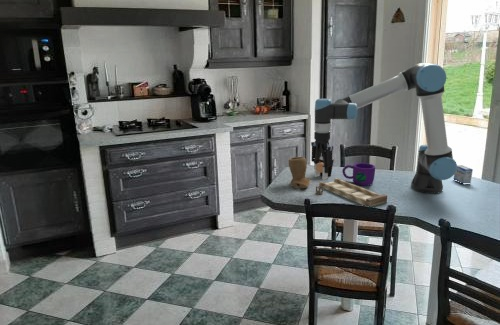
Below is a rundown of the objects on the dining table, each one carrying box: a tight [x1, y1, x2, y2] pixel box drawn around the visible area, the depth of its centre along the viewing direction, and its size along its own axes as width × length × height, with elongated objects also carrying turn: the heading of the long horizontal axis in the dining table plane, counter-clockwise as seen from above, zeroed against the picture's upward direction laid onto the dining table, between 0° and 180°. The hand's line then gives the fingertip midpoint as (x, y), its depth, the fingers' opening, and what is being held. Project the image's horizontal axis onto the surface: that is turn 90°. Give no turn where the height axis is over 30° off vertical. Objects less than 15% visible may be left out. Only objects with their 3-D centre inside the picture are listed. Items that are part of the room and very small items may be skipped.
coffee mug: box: [319, 156, 335, 178], centre depth 225 cm, size 12×9×10 cm
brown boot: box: [288, 156, 311, 190], centre depth 207 cm, size 15×12×15 cm
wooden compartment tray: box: [318, 177, 388, 207], centre depth 195 cm, size 34×12×4 cm, turn 32°
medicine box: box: [453, 164, 474, 184], centre depth 211 cm, size 8×4×9 cm, turn 13°
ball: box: [316, 162, 324, 173], centre depth 193 cm, size 5×5×5 cm
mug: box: [341, 162, 376, 187], centre depth 211 cm, size 17×11×10 cm, turn 59°
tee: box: [315, 185, 324, 196], centre depth 196 cm, size 3×3×4 cm
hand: (321, 177), depth 194 cm, fingers closed on ball, 5 cm apart
